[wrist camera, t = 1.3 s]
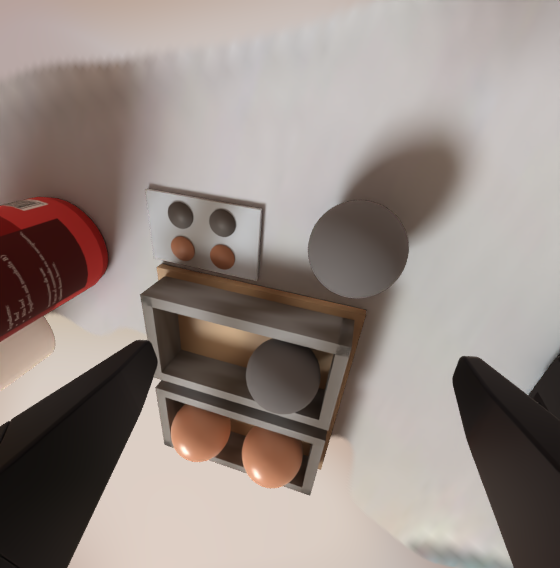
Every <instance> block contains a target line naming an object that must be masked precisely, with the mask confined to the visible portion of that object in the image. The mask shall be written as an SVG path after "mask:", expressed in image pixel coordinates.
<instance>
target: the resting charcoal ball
mask: <svg viewBox="0 0 560 568" xmlns="http://www.w3.org/2000/svg"><path fill="white" fill-rule="evenodd" d="M320 378H321V375H320V367H319V363H318V360H317V358H316V356H315V354H314V353H313V352H312V350H311V349H310V348H309V347H305V346H301V345H297V344H293V343H289V342H285V341H281V340H278V339H274V338H272V339H269V340H267V341H265V342H264V343H262V344H261V345H260V346H258V347H257V348H256V350H255V351H254V352H253V354H252V355H251V357H250V359H249V362H248V365H247V369H246V382H247V386H248V389H249V392H250V394H251V396H252V397H253V399H254V400H255V401H256V402H257V403H258V404H259V405H260V406H261V407H262V408H264V409H265V410H267V411H269V412H272V413H275V414H292V413H295V412H298V411H300V410H301V409H303V408H305V407H306V406H307V405H308V404H309V403H310V402H311V401H312V400H313V398H314V397H315V395H316V393H317V391H318V388H319V385H320Z"/></svg>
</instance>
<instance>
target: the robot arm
mask: <svg viewBox="0 0 560 568" xmlns="http://www.w3.org/2000/svg"><path fill="white" fill-rule="evenodd" d="M157 365H158V359H157V356H156V353H155V351H154V348H153V345H152V343H151V342H150V341H148V340H136V341H134V342H132V343H131V344H129V345H128V346H126V347H124V348H123V349H122V350H120V351H118V352H117V353H115V354H114V355H112V356H110V357H109V358H107V359H106V360H104V361H102V362H101V363H100V364H98V365H96V366H95V367H93V368H91V369H90V370H88V371H87V372H85V373H84V374H82V375H80V376H79V377H78V378H76V379H74V380H73V381H71V382H70V383H68V384H66V385H65V386H63V387H61V388H60V389H58V390H57V391H55V392H54V393H52V394H50V395H49V396H47V397H46V398H44V399H43V400H41V401H39V402H38V403H36V404H35V405H33V406H32V407H30V408H29V409H27V410H25V411H24V412H22V413H21V414H19V415H17V416H16V417H14V418H13V419H12V420H11V421H8V422H6V423H5V424H3V425H2V426H0V568H67V567H68V565H69V563H70V561H71V559H72V557H73V555H74V552H75V550H76V548H77V546H78V544H79V542H80V540H81V538H82V535H83V533H84V531H85V529H86V527H87V525H88V523H89V521H90V519H91V517H92V514H93V512H94V510H95V508H96V506H97V504H98V502H99V500H100V497H101V496H102V493H103V491H104V489H105V487H106V485H107V483H108V481H109V479H110V477H111V474H112V472H113V470H114V468H115V466H116V464H117V462H118V460H119V458H120V455H121V453H122V451H123V449H124V447H125V445H126V443H127V441H128V438H129V437H130V434H131V432H132V430H133V428H134V426H135V424H136V422H137V420H138V417H139V415H140V413H141V410H142V408H143V405H144V402H145V400H146V397H147V394H148V391H149V388H150V386H151V383H152V380H153V377H154V374H155V371H156V369H157ZM453 387H454V391H455V395H456V399H457V403H458V407H459V411H460V415H461V419H462V423H463V427H464V431H465V435H466V439H467V442H468V445H469V447H470V450H471V453H472V456H473V458H474V461H475V464H476V466H477V469H478V472H479V475H480V477H481V480H482V483H483V485H484V488H485V491H486V494H487V496H488V499H489V502H490V504H491V507H492V510H493V512H494V515H495V518H496V521H497V523H498V526H499V529H500V531H501V534H502V537H503V539H504V542H505V545H506V548H507V550H508V553H509V556H510V558H511V561H512V564H513V567H514V568H560V354H559V355H558V357H557V358H556V359H555V360H554V362H553V363H552V364H551V366H550V367H549V368H548V370H547V371H546V372H545V374H544V375H543V376H542V378H541V379H540V380H539V382H538V383H537V384H536V386H535V387H534V389H533V390H532V392H531V393H530V394H529V396H528V395H527V394H526V393H524V392H523V391H522V390H520V389H519V388H518V387H517V386H515V385H514V384H513V383H511V382H510V381H509V380H508V379H506V378H505V377H504V376H502V375H501V374H500V373H499V372H497V371H496V370H495V369H493V368H492V367H491V366H489V365H488V364H487V363H486V362H484V361H483V360H482V359H480V358H478V357H472V356H462V357H461V358H460V359H459V361H458V364H457V366H456V369H455V372H454V375H453ZM537 402H538V403H537Z"/></svg>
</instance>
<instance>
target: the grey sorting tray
mask: <svg viewBox="0 0 560 568" xmlns="http://www.w3.org/2000/svg"><path fill="white" fill-rule="evenodd" d="M145 193H146V201H147V209H148V217H149V225H150V232H151V240H152V248H153V256H154V258H155V259H159V260H164V261H168V262H173V263H177V264H182V265H186V266H191V267H195V268H199V269H204V270H208V271H213V272H217V273H222V274H226V275H231V276H235V277H240V278H244V279H249V280H253V281H257V279H258V267H259V251H260V236H261V221H262V209H261V208H255V207H249V206H244V205H238V204H232V203H227V202H221V201H215V200H210V199H204V198H199V197H193V196H187V195H182V194H176V193H170V192H165V191H159V190H153V189H145ZM157 272H158V280H159V281H158V282H156V283H155V284H154V285H152V286H151V287H150V288H148V289H147V290H146V291H144V292H143V293H142V294H140V296H141V302H142V308H143V315H144V321H145V327H146V333H147V339H148V341H150V342H151V343H152V345H153V348H154V351H155V353H156V356H157V359H158V365H157V369H156V371H155V374H154V378H157V379H161V382H160V383H159V384H158V385H157V386H156V394H157V401H158V407H159V413H160V419H161V425H162V431H163V437H164V444H165V445H167V446H170V447H172V448H174V446H173V444H172V440H171V426H172V422H173V420H174V417H175V416H176V414H177V412H178V411H179V410H180V409H181V408H182V407H183V406H184V405H185V404H188V405H191V406H195V407H198V408H201V409H204V410H207V411H210V412H213V413H217V414H220V415H223V416H226V417H229V418H230V421H231V431H230V436H229V439H228V442H227V443H226V445H225V447H224V448H223V449H222V451H221V452H220V453H219V454H217V455H216V456H215V457H213V458H211V459H209V460H210V461H213V462H215V463H219V464H221V465H224V466H227V467H230V468H233V469H236V470H239V471H241V472H244V473H247V472H246V470H245V468H244V465H243V461H242V447H243V443H244V440H245V437H246V435H247V434H248V432H249V431H250V430H251V428H252V427H253V426H258V427H261V428H264V429H267V430H270V431H273V432H277V433H280V434H283V435H286V436H289V437H292V438H296V439H299V440H301V443H302V448H303V458H302V463H301V466H300V469H299V471H298V473H297V474H296V476H295V477H294V478H293V479H292V480H291V481H290V482H289V483H287V484H286V485H284V487H287V488H290V489H293V490H296V491H298V492H301V493H304V494H307V495H310V494H311V490H312V487H313V483H314V480H315V476H316V473H317V469H321V467H322V464H323V461H324V457H325V454H326V450H327V447H328V443H329V440H330V437H331V433H332V430H333V426H334V423H335V419H336V416H337V413H338V409H339V406H340V402H341V399H342V395H343V392H344V389H345V385H346V382H347V378H348V375H349V371H350V368H351V365H352V361H353V358H354V354H355V351H356V347H357V344H358V341H359V337H360V334H361V330H362V327H363V323H364V320H365V317H366V310H364V309H359V308H355V307H351V306H346V305H342V304H337V303H333V302H329V301H324V300H320V299H315V298H311V297H306V296H302V295H298V294H293V293H289V292H284V291H280V290H275V289H271V288H267V287H262V286H258V285H253V284H249V283H245V282H240V281H236V280H231V279H227V278H222V277H218V276H214V275H209V274H205V273H200V272H196V271H192V270H187V269H183V268H178V267H174V266H169V265H165V264H161V265H159V266H158V267H157ZM272 338H274V339H278V340H281V341H285V342H289V343H293V344H297V345H301V346H305V347H309V348H310V349H311V350H312V352H313V353H314V354H315V356H316V358H317V360H318V363H319V367H320V375H321V378H320V385H319V388H318V391H317V393H316V395H315V397H314V398H313V400H312V401H311V402H310V403H309V404H308V405H307V406H306V407H305V408H303V409H301V410H300V411H298V412H295V413H292V414H275V413H272V412H269V411H267V410H265V409H264V408H262V407H261V406H260V405H259V404H258V403H257V402H256V401H255V400H254V399H253V397H252V396H251V394H250V392H249V389H248V386H247V382H246V369H247V365H248V362H249V359H250V357H251V355H252V354H253V352H254V351H255V350H256V348H257V347H258V346H260V345H261V344H262V343H264V342H265V341H267V340H269V339H272Z"/></svg>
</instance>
